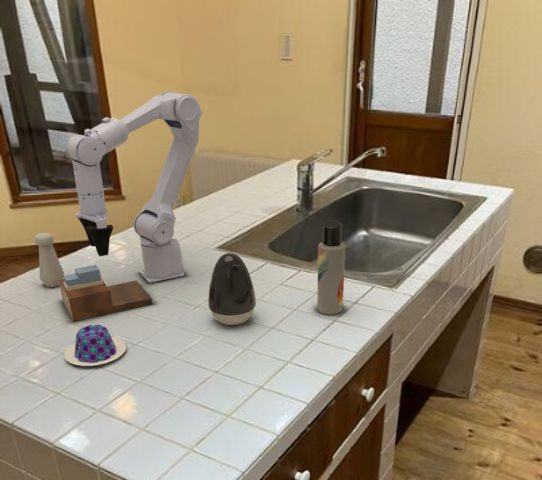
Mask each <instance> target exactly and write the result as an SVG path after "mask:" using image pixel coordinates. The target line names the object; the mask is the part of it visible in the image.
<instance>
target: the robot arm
mask: <svg viewBox="0 0 542 480" xmlns="http://www.w3.org/2000/svg"><path fill="white" fill-rule="evenodd" d="M202 115H203V111H202V109H201V106H200V104H199V102H198V99H197V98H196V97H195V96H194V95H193V94H190V93H179V92H174V91H171V90H170V91H169V90H166V91H163V92H162V93H161V94H157V95H154V96H153V97H152V98H151V99H150V100H148V101H146V102H145V103H144V104H142V105H140V106H139V107H137V108H136V109H134V110H132V111H130V113H128V114H127V115H125V116H123V117H121V118H120V119H119V118H116V117H111V118H110V117H107V116H106V117H104V118H102V119H101V121H102V122H101V123H99V124H98V125H96V126H94V127H92V128H91V129H90V128H86V129H84V130H83V131H84V134H74V135H72V136H71V137H70V138H69V141H67V145H66V148H65V149H64V150H65V153H66V155H67V157H68V158H69V159H70V160H71V162H72V168H73V175H74V182H75V189H76V194H77V200H78V205H79V211H78V212H75V213H74V215H75V217H76V218H77V219H78V221H79V222H80V223H81V225H82V227H83V229H84V232H85V234H86V237H87V240H88V243H89V245H90V246H91V247H92V248H93V247H94V248H95V250H96V253H97V255H98V256H99V257H106V256H109V250H110V241H111V237H112V232H113V230H114V225H112V224H107V217H108V215H109V213H108V209H107V206H106V199H105V190H104V184H103V178H102V170H101V164H100V162H101V161H102V159H103V156H105V155H106V154H108V153H110V152H112V151H113V150H115V149H116V148H118V147H120V146H121V145H124V144H125V143H127V141H128V138H129V135H130V133H131V134H132V133H133V132H135V131H137V130H139V129H141V128H142V127H144V126H147V125H148V124H151V123H152V122H155V121H157V120H163V121H164V123H165V124H166V125H167V127H169V130H170V132H171V134H172V136H173V140H172V143H171V146H170V149H169V151H168V154H167V157H166V159H165V161H164V165H163V167H162V170H161V173H160V176H159V177H158V181H157V183H156V185H155V189H154V191H153V195H152V196H151V199H150V200H149V201H148V202H145V204H143V206H142V209H141V210H140V212H139V213H138V214H137V215H136V216H135V218H134V220H133V229H134V232H135V233H136V234H137V236H139V241H140V249H141V255H142V256H141V257H142V262H143V270H140V271H139V273H140V275H141V276H142V277H143V278H144V279H145V280H146V281H147V282H148V283H149V284H151V283H156V282H160V281H165V280H170V279H175V278H180V277H184V276H185V273H184V266H183V256H182V248H181V245H180V243H179V240H178V239H177V238H173V236H174V234H175V228H174V227H175V222H176V219H177V218H176V215H175V212H174V207H175V203H176V200H177V199H178V195H179V193H180V190H181V187H182V185H183V182H184V179H185V178H186V175H187V171H188V169H189V166H190V163H191V162H192V159H193V156H194V153H195V151H196V148H197V145H198V143H199V139H200V121H201V117H202Z"/></svg>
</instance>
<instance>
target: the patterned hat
mask: <svg viewBox="0 0 542 480" xmlns="http://www.w3.org/2000/svg"><path fill="white" fill-rule="evenodd" d="M126 350H127V344H126V342H125V341H124V340H123V339H121V338H118V337H115V336H111V334H110V332H109V329H108V328H107V327H106V326H104V325H101V324H89V325H88V324H87V325H86V326H84V327H81V328H79V329H78V331H77V332H76V334H75V342H74V343H72V344H71V345H70V346H69V347H67V348H66V350H65V351H64V353H63V354H64V355H63V356H64V360H66V361H67V362H68V363H70V364H72V365H76V366H82V367H91V366H99V365H103V364H108V363H111V362H112V361H115V360H117V359H118V358H120V357H121V356H122V355H124V353H126Z"/></svg>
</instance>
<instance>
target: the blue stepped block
mask: <svg viewBox="0 0 542 480" xmlns="http://www.w3.org/2000/svg"><path fill="white" fill-rule="evenodd" d="M101 278H102V275H101V270H100V268H99V267H98V266H97V264H92V265H88V266H81V267H76V268H74V273H71V274H66V275H65V274H64V278H63V279H64V280H65V282H63V283H64V286H65V288H66V290H67V291H71V290H76V289H81V288H86V287H91V286H96V285H101V284H103V281H104V280H103V279H101ZM102 280H103V281H102Z"/></svg>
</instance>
